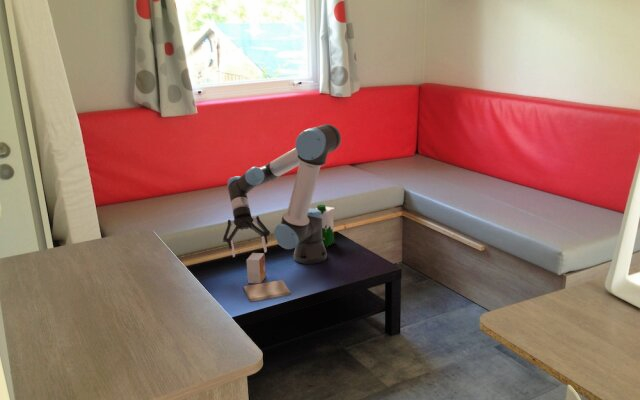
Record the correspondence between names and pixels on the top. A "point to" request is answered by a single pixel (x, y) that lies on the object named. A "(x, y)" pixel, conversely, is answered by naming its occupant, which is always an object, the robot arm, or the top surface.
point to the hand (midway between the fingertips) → (250, 253)
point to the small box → (256, 268)
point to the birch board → (266, 290)
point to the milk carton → (327, 224)
